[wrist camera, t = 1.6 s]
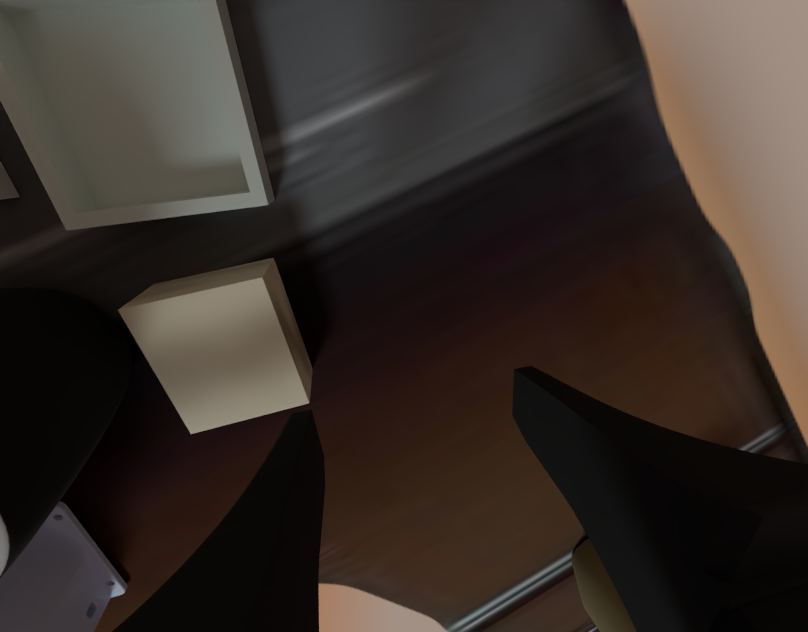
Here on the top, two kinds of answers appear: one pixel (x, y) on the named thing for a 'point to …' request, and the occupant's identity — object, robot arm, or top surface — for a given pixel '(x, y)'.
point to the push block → (223, 344)
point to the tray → (131, 108)
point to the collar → (6, 185)
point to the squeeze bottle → (599, 591)
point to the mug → (51, 402)
